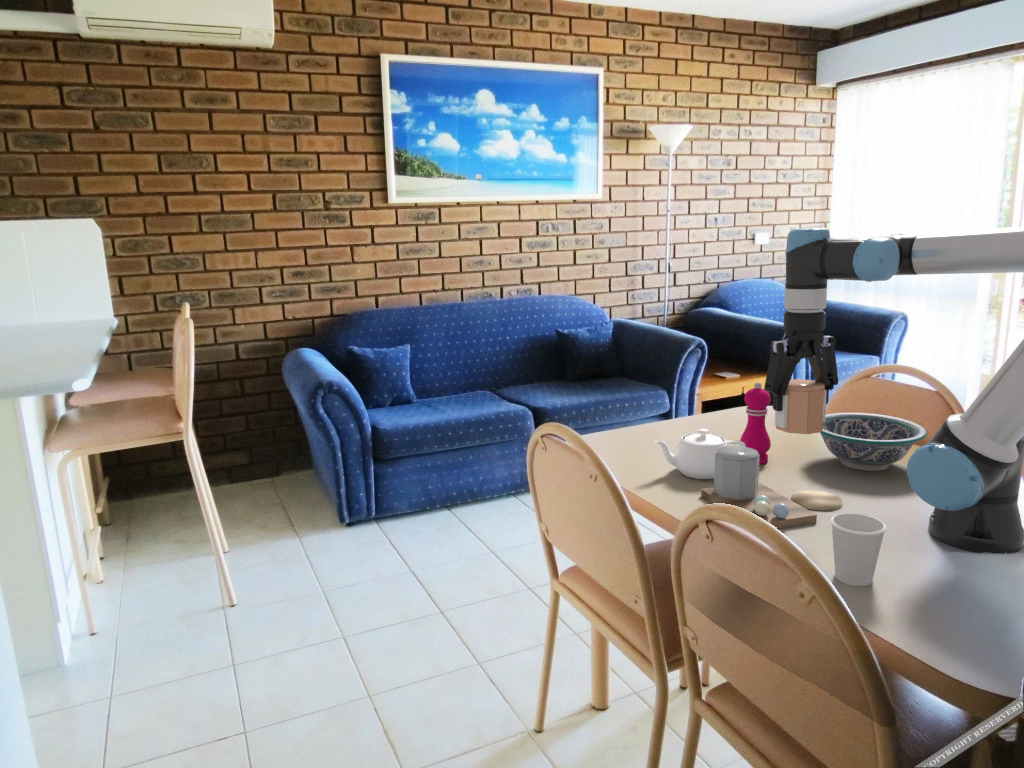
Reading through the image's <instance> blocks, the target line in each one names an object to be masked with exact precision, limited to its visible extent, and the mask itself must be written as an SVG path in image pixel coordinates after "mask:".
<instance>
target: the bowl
mask: <svg viewBox="0 0 1024 768" xmlns="http://www.w3.org/2000/svg"><path fill="white" fill-rule="evenodd" d="M927 430H928V429H926V427H924V426H923V425H921V424H918V423H917V422H914V421H911V420H910V419H905V418H902V417H897V416H892V415H886V414H885V415H884V414H879V413H869V412H849V411H848V412H833V413H831V412H830V413H826V415H825V422H823V430H822V432H819V434H820V436H821V438H822V440H823V442H824V445H825V446H826V448H827V449H828V451H829V452H830V453H831V454H832V455H833V456H835V457H836V458H838V459H839V462H840V463H841V464H842V465H843V466H845V467H846V468H849V469H853V470H857V471H864V472H880V471H885V470H887V469H889V468H890V465H891V464H895V463H897V462H898V461H900V460H902V459H904V458H905V456H906V455H907V454H908V453H909V451H910V450H911V448H912V447H913V446H914V444H915V443H917V442H920V441H921V440H924V439H925V438H927V436H928V431H927Z"/></svg>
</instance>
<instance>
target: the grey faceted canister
mask: <svg viewBox="0 0 1024 768" xmlns="http://www.w3.org/2000/svg"><path fill="white" fill-rule="evenodd" d="M759 457H760V455H759V454H758V451H756V450H754V449H752V448H748V447H743V446H740V445H728V446H725V447H721V448H718V449H717V453H716V454H715V474H714V479H713V483H714V484H713V487H714V492H715V493H717V494H718V495H720V496H721V497H724V498H730V499H737V500H743V499H750V498H755V496H756V494H757V493H758V482H759V473H760V465H759Z"/></svg>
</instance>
